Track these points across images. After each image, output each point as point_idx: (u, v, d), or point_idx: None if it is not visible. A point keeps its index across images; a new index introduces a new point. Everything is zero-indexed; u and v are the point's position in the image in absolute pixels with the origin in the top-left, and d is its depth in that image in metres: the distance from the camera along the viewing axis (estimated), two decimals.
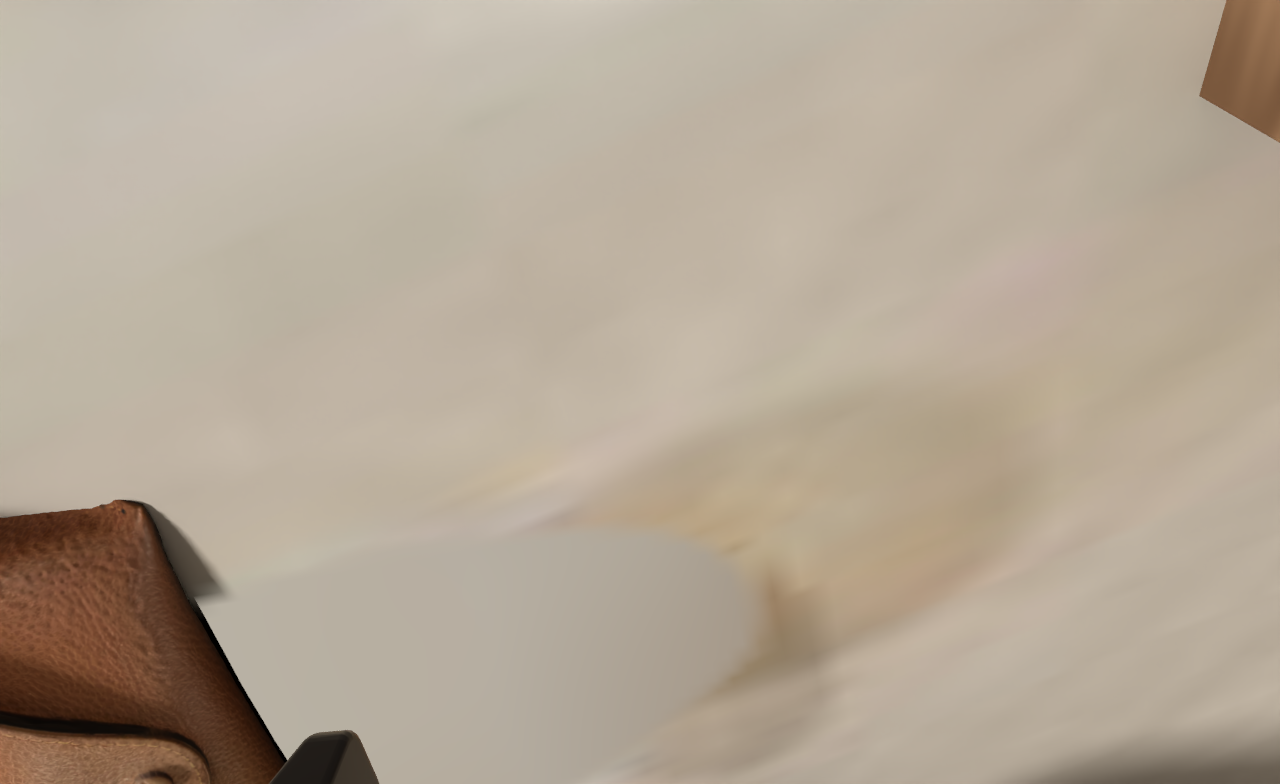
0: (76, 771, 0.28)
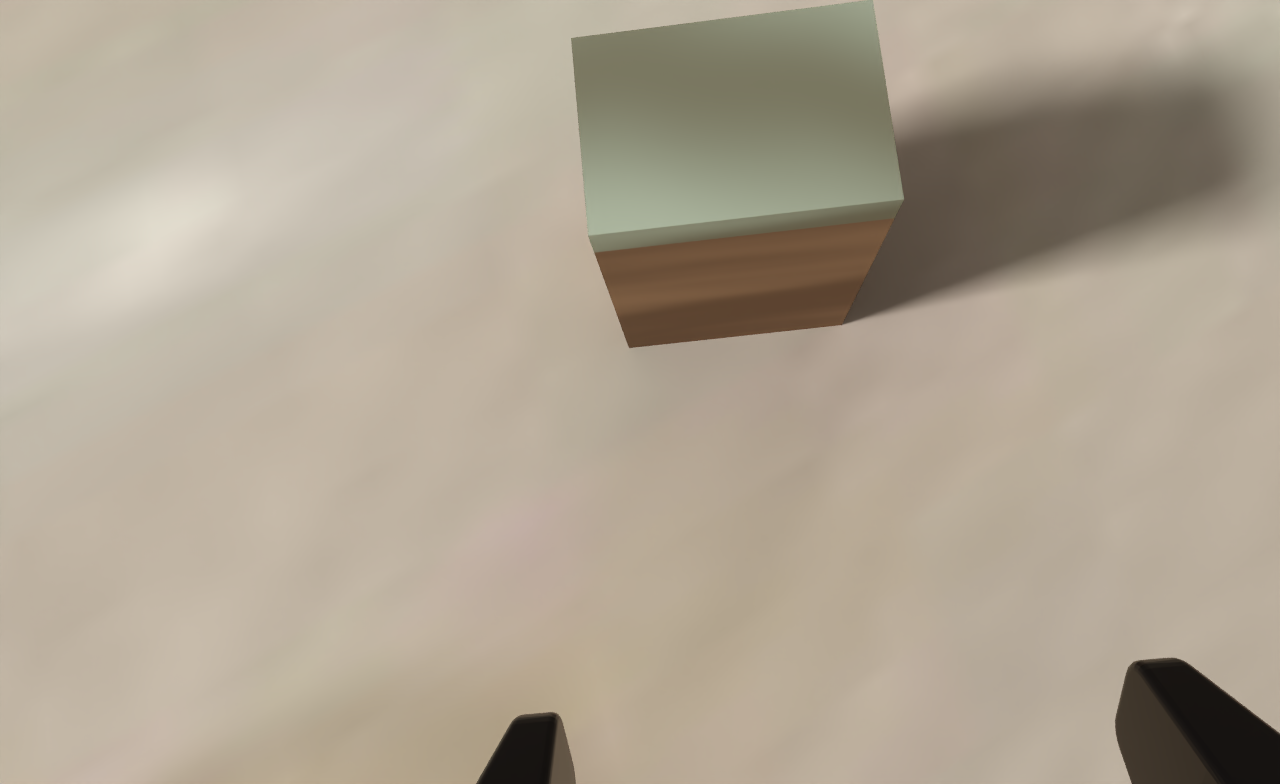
0: None
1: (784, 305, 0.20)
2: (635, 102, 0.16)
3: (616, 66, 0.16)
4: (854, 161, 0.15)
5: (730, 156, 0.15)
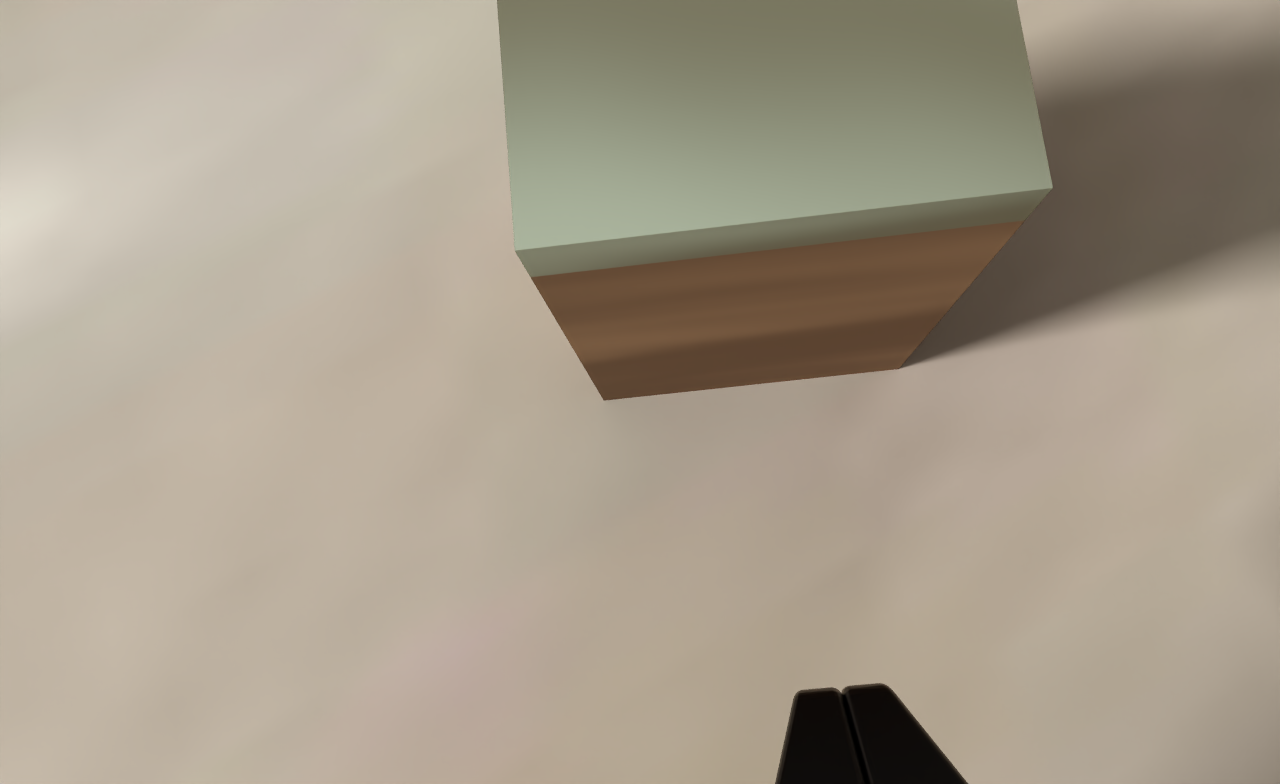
0: None
1: (823, 346, 0.14)
2: (595, 27, 0.09)
3: None
4: (966, 122, 0.09)
5: (754, 116, 0.09)
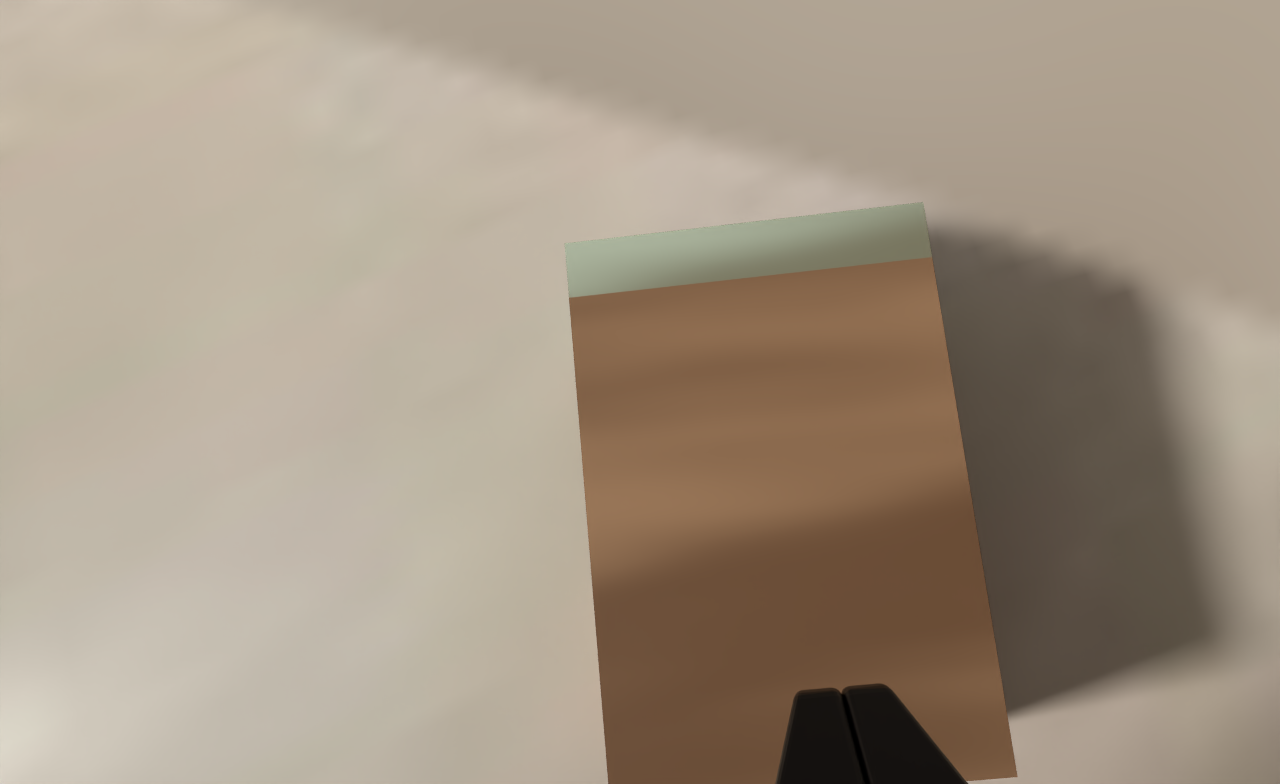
0: None
1: (868, 604, 0.12)
2: None
3: None
4: None
5: None
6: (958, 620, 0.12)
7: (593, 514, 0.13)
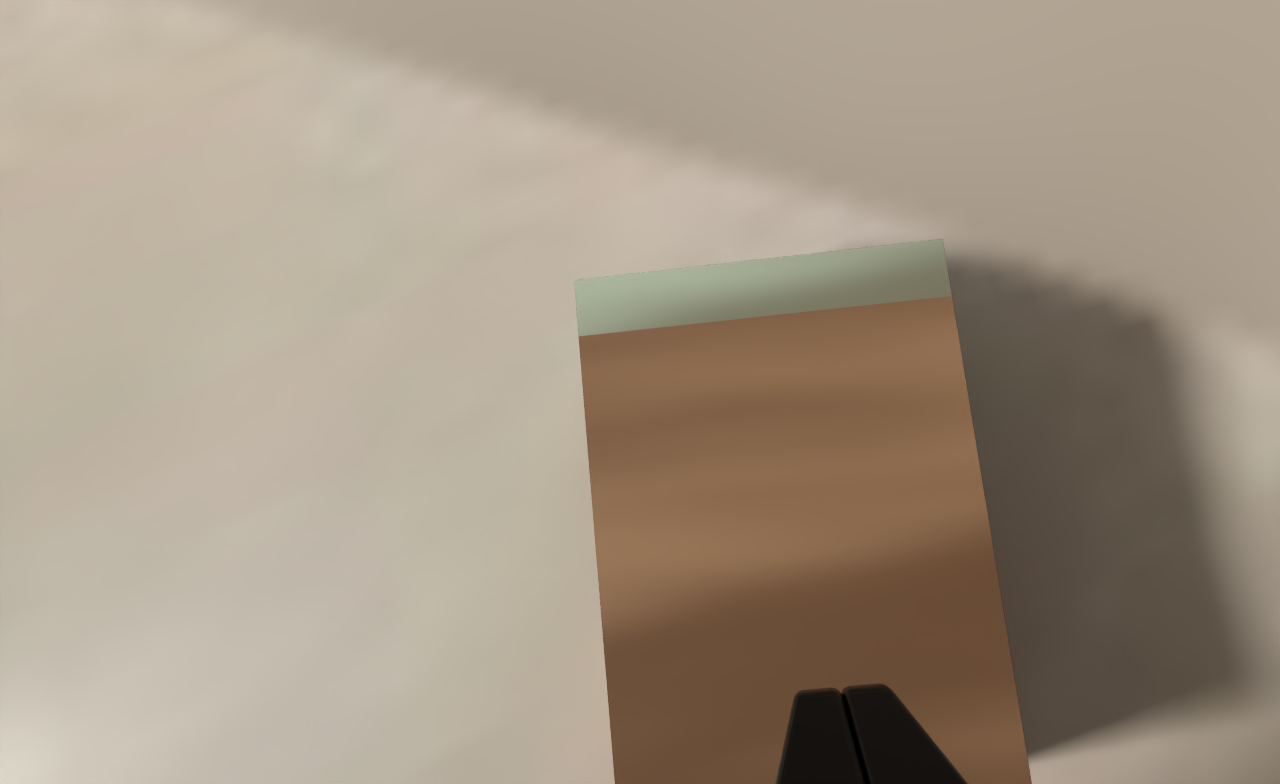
0: None
1: (886, 655, 0.12)
2: None
3: None
4: None
5: None
6: (979, 673, 0.12)
7: (604, 561, 0.12)
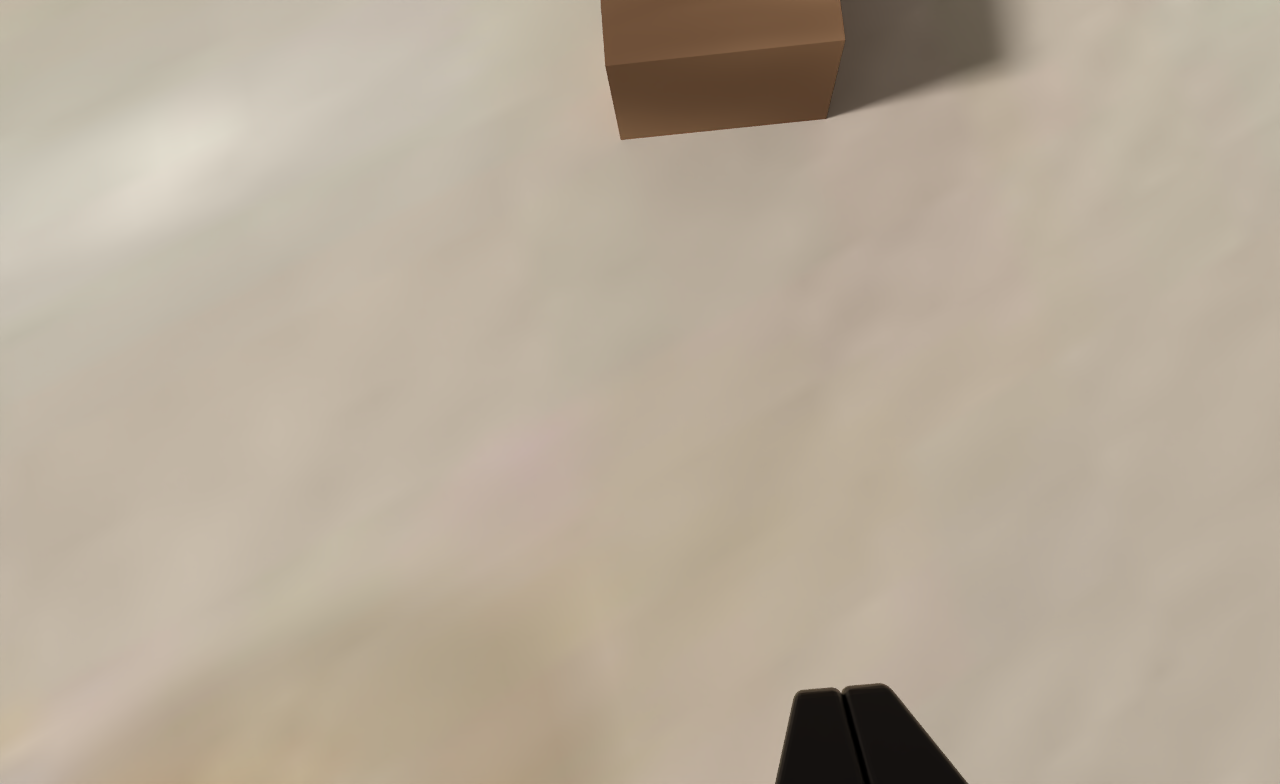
0: None
1: None
2: None
3: None
4: None
5: None
6: None
7: None
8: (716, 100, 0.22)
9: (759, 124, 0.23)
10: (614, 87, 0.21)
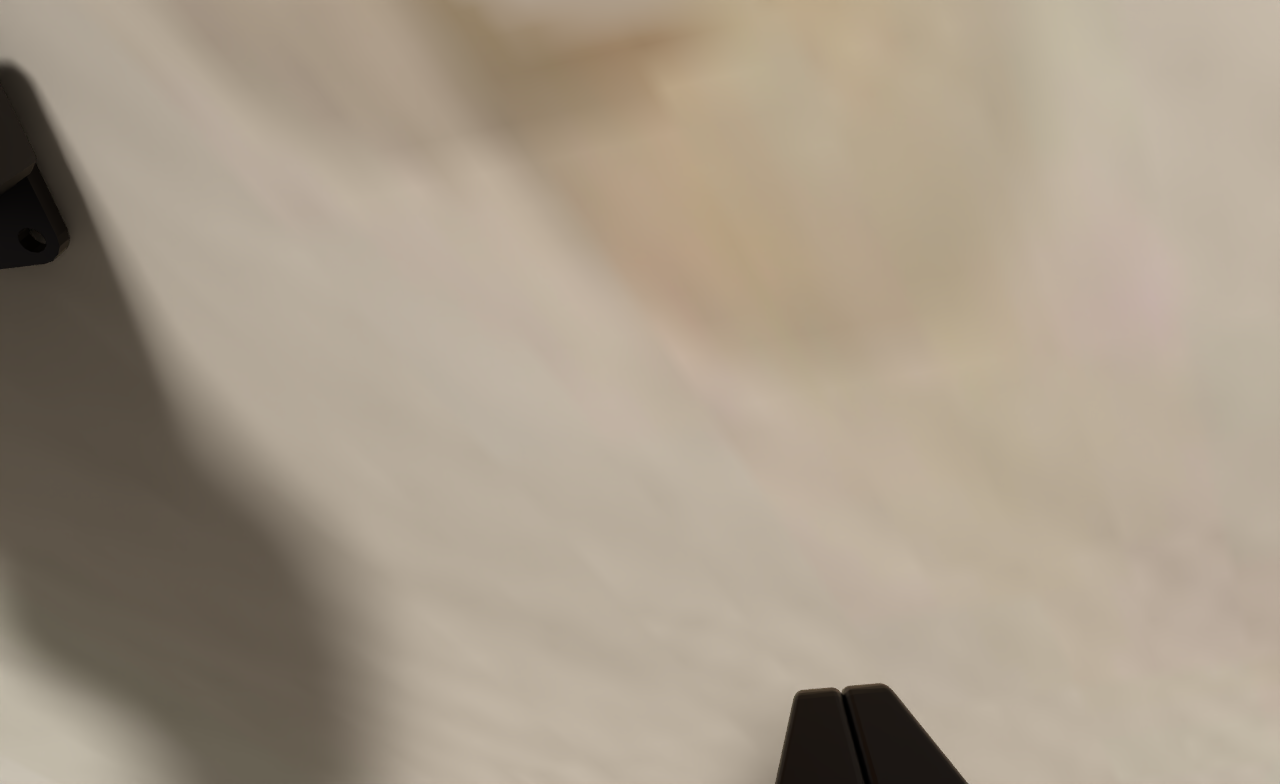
0: None
1: None
2: None
3: None
4: None
5: None
6: None
7: None
8: None
9: None
10: None
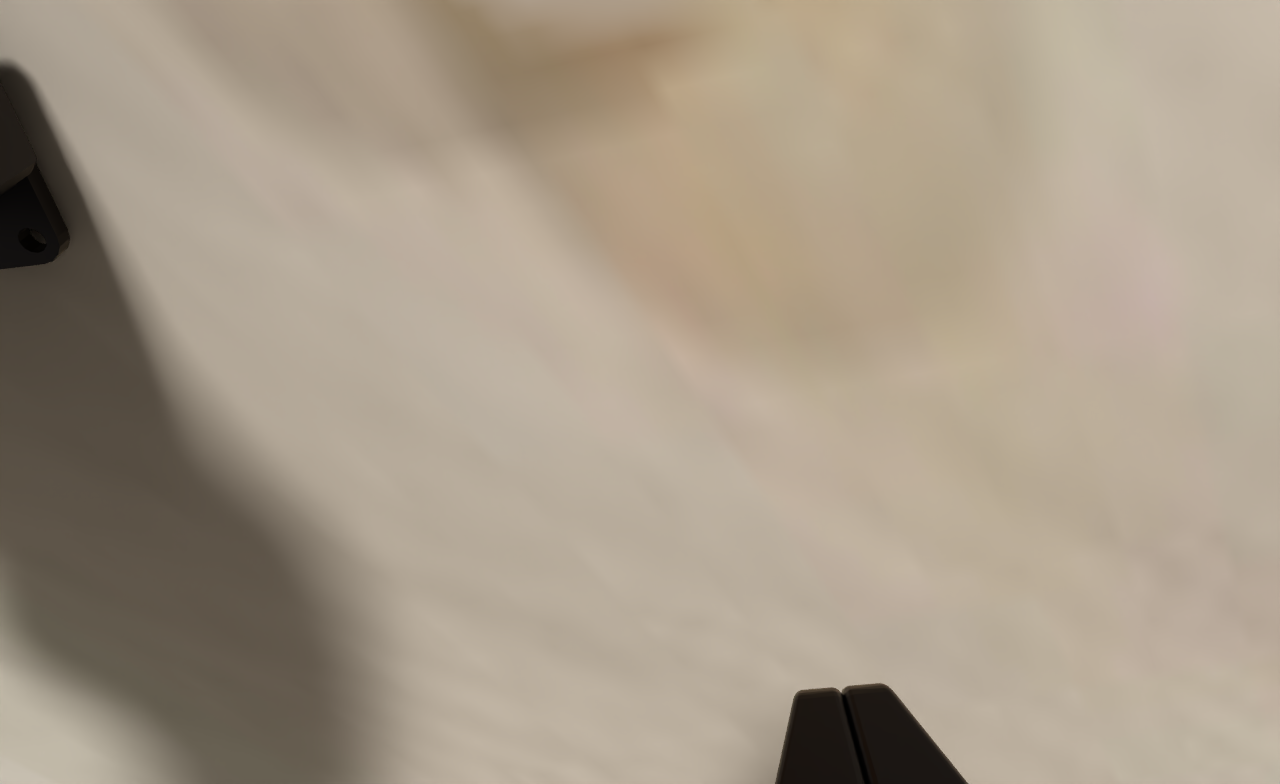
0: None
1: None
2: None
3: None
4: None
5: None
6: None
7: None
8: None
9: None
10: None
